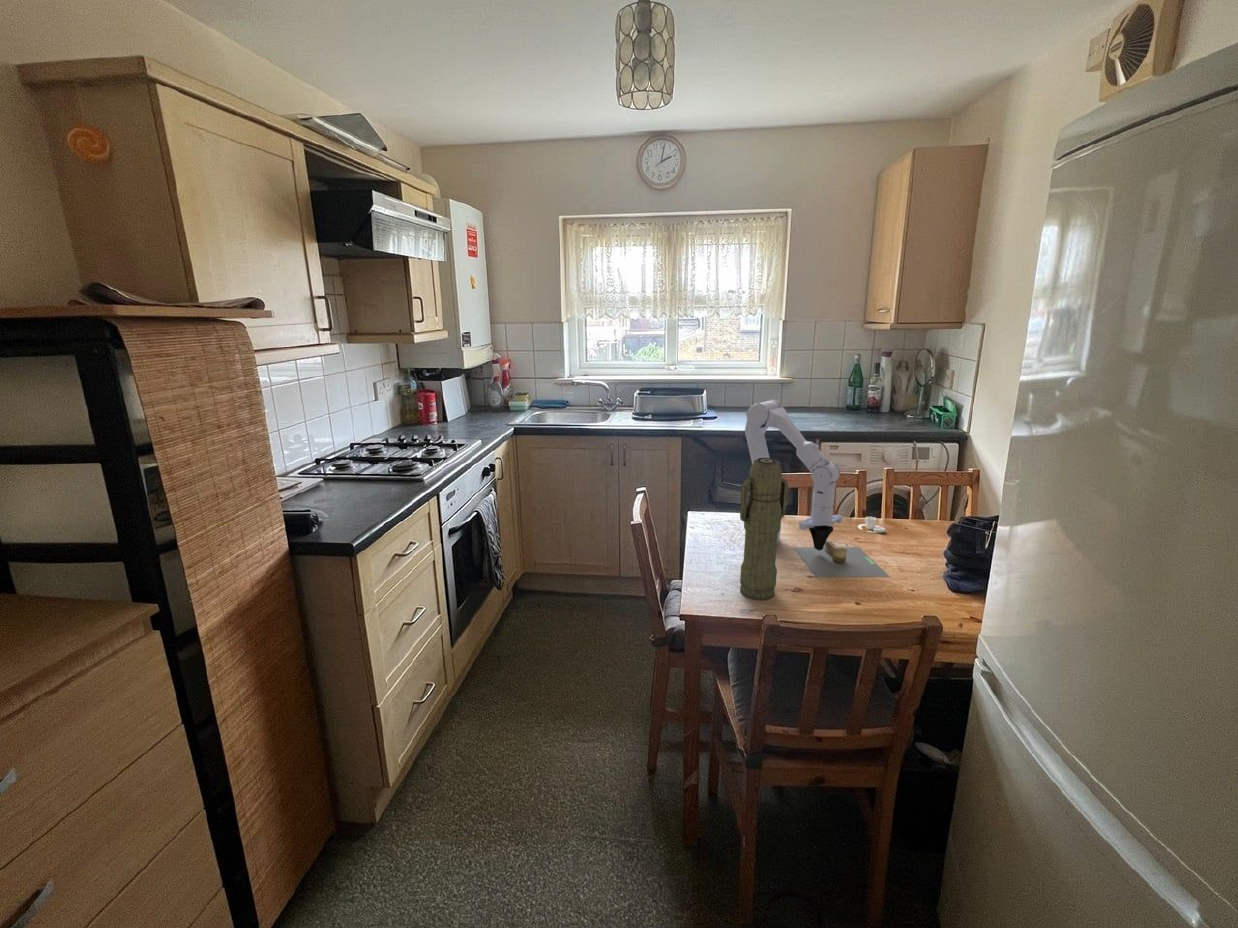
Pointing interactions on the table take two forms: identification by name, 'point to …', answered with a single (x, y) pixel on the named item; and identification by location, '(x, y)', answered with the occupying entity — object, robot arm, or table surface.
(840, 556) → the olive brown knobbed bar
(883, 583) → the table surface
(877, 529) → the teacup and saucer
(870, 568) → the board
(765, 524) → the olive green tall cylinder
